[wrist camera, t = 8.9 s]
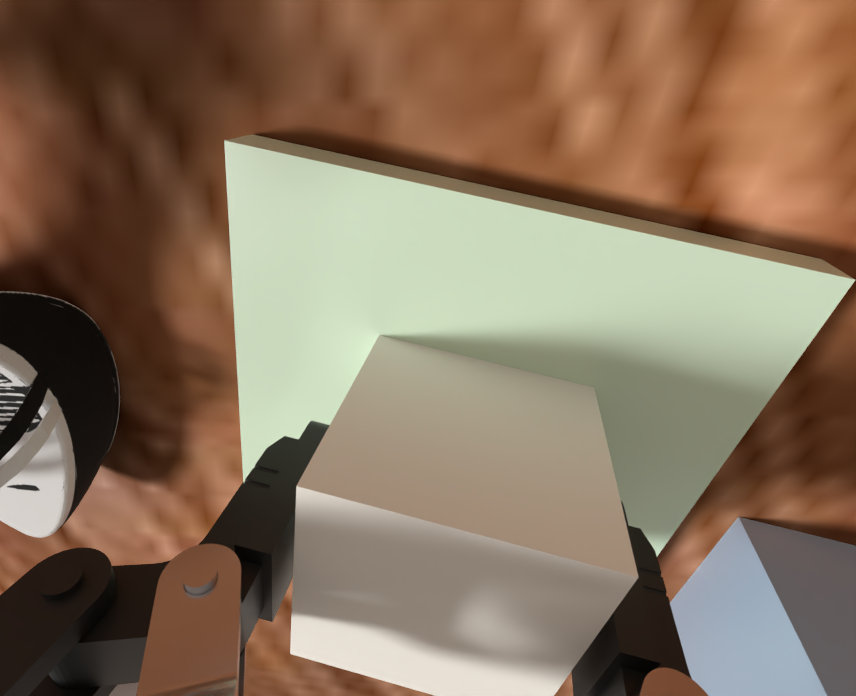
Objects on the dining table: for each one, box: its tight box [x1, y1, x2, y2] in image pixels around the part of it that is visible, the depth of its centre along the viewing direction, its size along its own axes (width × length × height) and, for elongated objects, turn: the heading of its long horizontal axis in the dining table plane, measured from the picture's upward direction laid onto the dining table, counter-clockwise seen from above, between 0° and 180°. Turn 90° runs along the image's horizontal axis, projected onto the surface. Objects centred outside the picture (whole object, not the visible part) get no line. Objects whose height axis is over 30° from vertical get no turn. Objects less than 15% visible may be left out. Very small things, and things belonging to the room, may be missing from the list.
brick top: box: [670, 517, 856, 696], centre depth 13 cm, size 5×5×5 cm
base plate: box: [224, 134, 855, 556], centre depth 13 cm, size 13×13×1 cm
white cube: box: [290, 335, 638, 696], centre depth 11 cm, size 5×5×5 cm
